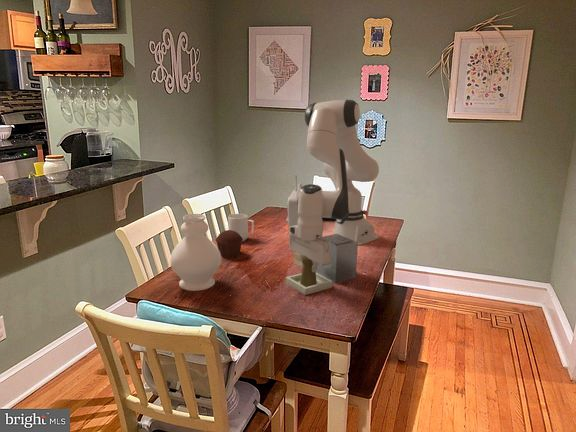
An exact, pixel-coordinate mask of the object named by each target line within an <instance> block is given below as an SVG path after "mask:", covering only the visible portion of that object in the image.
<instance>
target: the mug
mask: <svg viewBox="0 0 576 432" xmlns="http://www.w3.org/2000/svg"><path fill="white" fill-rule="evenodd" d="M248 218H249V215H247V214H245V213H232V214H229V215H227V224H228V225H227V226H228V229H227V230H233V231H235V232H237V233H238V234H239V235H240V236H241V237H242V238H243V240H242V242H245V241H246V240H247V239H248V237H249V236H250V235H252V234H253V233H254V226H255V223H254V222H255V221H254V220H252V219H248ZM249 222H251V232H250V233H249Z"/></svg>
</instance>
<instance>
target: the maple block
mask: <svg viewBox="0 0 576 432" xmlns="http://www.w3.org/2000/svg"><path fill="white" fill-rule="evenodd" d="M292 261H293V264H292V265H294V266H297V267H301V268H303V266H302V262H301V259H300V254H298V253H296V252H294V251H293V260H292Z"/></svg>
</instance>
